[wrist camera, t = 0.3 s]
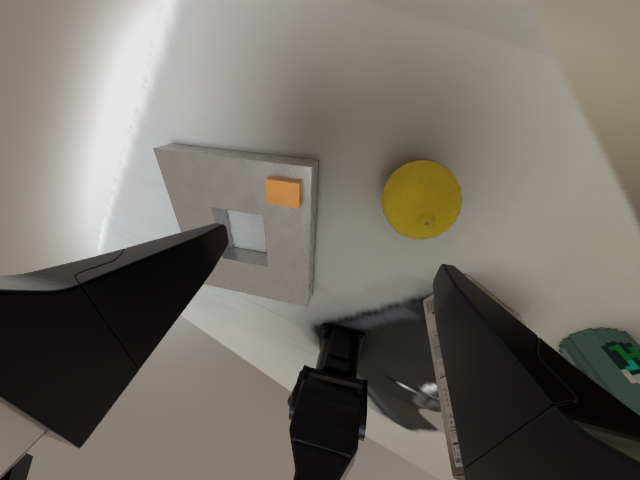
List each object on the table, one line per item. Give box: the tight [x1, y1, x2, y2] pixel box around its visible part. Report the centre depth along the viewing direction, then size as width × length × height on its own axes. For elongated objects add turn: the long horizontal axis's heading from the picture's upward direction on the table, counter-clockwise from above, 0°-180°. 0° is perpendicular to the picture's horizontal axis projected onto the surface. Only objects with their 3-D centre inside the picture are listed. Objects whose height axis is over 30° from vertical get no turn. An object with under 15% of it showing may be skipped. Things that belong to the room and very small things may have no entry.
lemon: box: [382, 160, 462, 239], centre depth 18 cm, size 6×6×8 cm
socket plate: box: [153, 143, 319, 307], centre depth 27 cm, size 18×16×3 cm
